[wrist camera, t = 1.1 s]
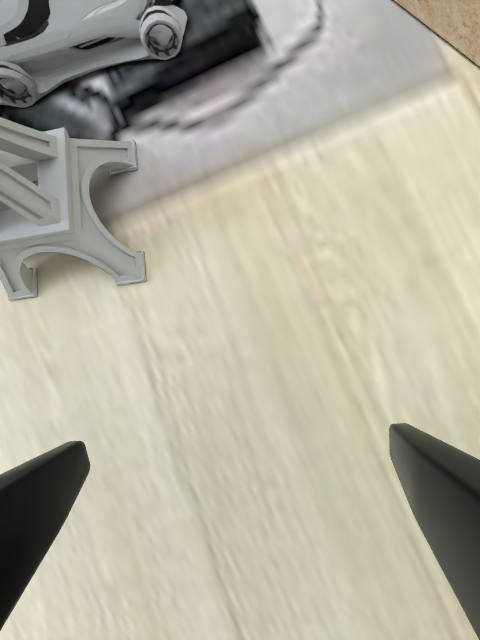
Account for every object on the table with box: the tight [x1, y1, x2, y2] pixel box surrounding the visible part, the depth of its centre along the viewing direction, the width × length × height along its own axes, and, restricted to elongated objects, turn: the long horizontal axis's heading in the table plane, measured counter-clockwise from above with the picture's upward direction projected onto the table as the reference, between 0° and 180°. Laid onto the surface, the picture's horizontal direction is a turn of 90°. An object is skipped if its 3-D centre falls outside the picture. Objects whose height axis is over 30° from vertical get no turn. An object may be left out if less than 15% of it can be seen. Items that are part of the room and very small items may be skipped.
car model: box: [0, 0, 187, 108], centre depth 28 cm, size 11×24×5 cm, turn 101°
